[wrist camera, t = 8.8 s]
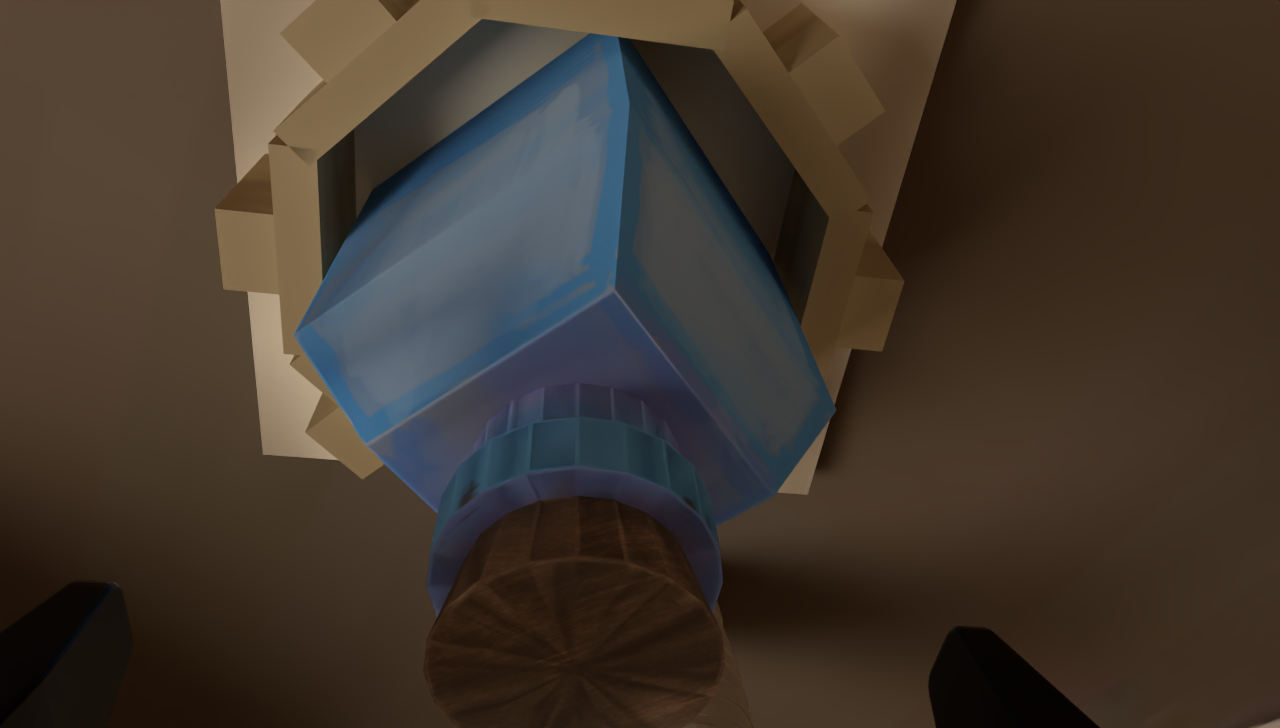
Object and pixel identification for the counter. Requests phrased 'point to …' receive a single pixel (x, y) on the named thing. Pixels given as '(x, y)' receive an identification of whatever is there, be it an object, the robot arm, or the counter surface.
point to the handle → (725, 694)
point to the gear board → (502, 59)
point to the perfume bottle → (570, 392)
